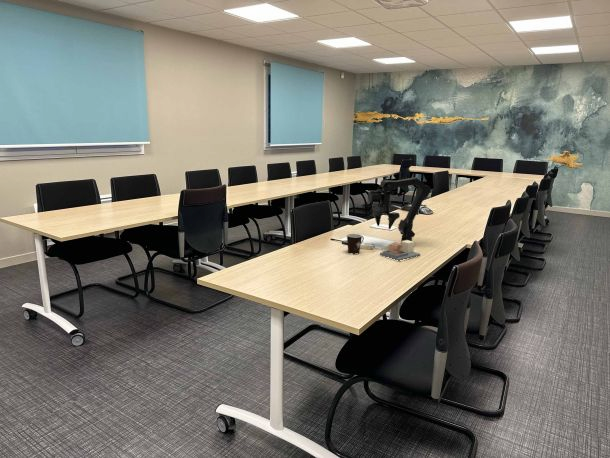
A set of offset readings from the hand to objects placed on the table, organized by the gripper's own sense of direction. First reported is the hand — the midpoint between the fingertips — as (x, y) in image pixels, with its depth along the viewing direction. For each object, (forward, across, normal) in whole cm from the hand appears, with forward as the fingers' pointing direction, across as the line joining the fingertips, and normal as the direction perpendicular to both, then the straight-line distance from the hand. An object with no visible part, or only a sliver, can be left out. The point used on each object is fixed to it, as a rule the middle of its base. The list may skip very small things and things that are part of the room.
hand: (383, 227), depth 255 cm
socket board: (+12, +19, -6) cm, 23 cm away
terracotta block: (+10, +19, -10) cm, 24 cm away
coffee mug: (+12, 0, -22) cm, 25 cm away
